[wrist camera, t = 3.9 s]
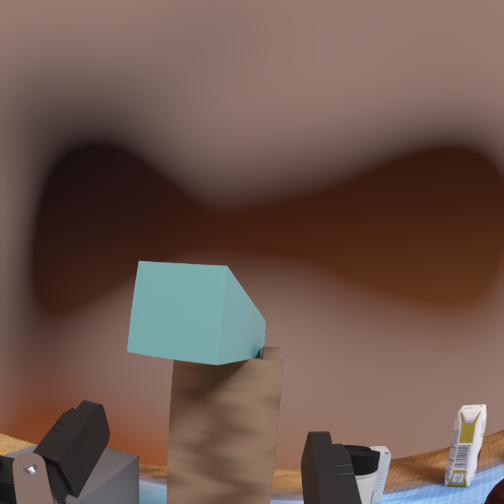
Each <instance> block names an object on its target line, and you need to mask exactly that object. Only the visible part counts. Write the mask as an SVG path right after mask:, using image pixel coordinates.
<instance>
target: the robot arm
mask: <svg viewBox="0 0 504 504" xmlns="http://www.w3.org/2000/svg"><path fill="white" fill-rule="evenodd" d="M109 437H110V431H109V427H108V423H107V419H106V415H105V411H104V407H103V406H102V405H101V404H98V403H94V402H91V401H87V400H84V401H82V402H81V404H80V405H79V406H78V408H77V409H73V408H72V409H70V410H68V411H67V412H65V413H63V414H62V415H61V417H60V418H59V419H58V420H57V422H56V424H54V425H53V427H52V428H51V430H49V432H48V433H47V434H46V436H45V437H44V438H43V439H42V441H41V442H40V443H39V445H38V446H37V447H36V448H35V450H34V451H33V452H32V453H31V452H27V453H22V454H20V455H18V456H17V457H16V458H11V457H6V456H1V455H0V504H68V502H67V500H66V497H67V495H71V496H73V497H75V498H78V497H79V495H80V493H81V491H82V489H83V487H84V486H85V484H86V482H87V480H88V478H89V477H90V475H91V473H92V471H93V469H94V467H95V466H96V464H97V462H98V460H99V458H100V457H101V455H102V453H103V451H104V450H105V448H106V446H107V444H108V442H109ZM301 475H302V486H303V498H304V504H362V502H361V497H360V493H359V489H358V485H357V481H356V477H355V474H354V469H353V465H352V461H351V457H350V453H349V452H348V451H347V450H346V448H345V447H344V446H343V445H342V444H332V441H331V437H330V433H329V432H328V431H323V432H309V433H308V436H307V440H306V444H305V447H304V452H303V455H302V460H301Z"/></svg>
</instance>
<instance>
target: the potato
mask: <svg viewBox="0 0 504 504" xmlns="http://www.w3.org/2000/svg"><path fill="white" fill-rule="evenodd" d="M484 504H504V479H502V480H501V481H500V482H499V483H498V484H496V486H495V487H494V488H493V489H492V491H491V492H490V493H489V495H488V496H487V499H486V501H485V503H484Z"/></svg>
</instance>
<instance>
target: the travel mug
mask: <svg viewBox="0 0 504 504" xmlns="http://www.w3.org/2000/svg"><path fill="white" fill-rule="evenodd" d="M343 446H344V447H345V448H346V450H347V451H348V452H349V453H350V457H351V461H352V465H353V469H354V474H355V477H356V481H357V485H358V489H359V493H360V497H361V502H362V504H371V503H372V499H373V494H374V489H375V484H376V479H377V472H378V466H379V464H378V463H379V460H380V454H381V453H380V452H379V451H375V450H371V448H369V447H364V446H355V445H343Z"/></svg>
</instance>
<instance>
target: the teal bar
mask: <svg viewBox="0 0 504 504" xmlns="http://www.w3.org/2000/svg"><path fill="white" fill-rule="evenodd" d="M265 326H266V321H265V320H264V318H263V317H262V315H261V314H260V312H259V311H258V310H257V308H256V307H255V305H254V304H253V303H252V301H251V300H250V298H249V297H248V295H247V294H246V293H245V291H244V290H243V288H242V287H241V285H240V284H239V283H238V281H237V280H236V278H235V277H234V275H233V274H232V272H231V271H230V270H229V268H228V267H227V266H216V265H197V264H179V263H160V262H144V261H139V264H138V270H137V277H136V283H135V291H134V297H133V305H132V312H131V320H130V329H129V338H128V348H127V351H128V352H132V353H137V354H143V355H149V356H155V357H161V358H168V359H174V360H181V361H189V362H196V363H204V364H213V365H221V364H227V363H232V362H237V361H242V360H247V359H252V358H257V357H261V354H262V347H263V346H264V339H265Z"/></svg>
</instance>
